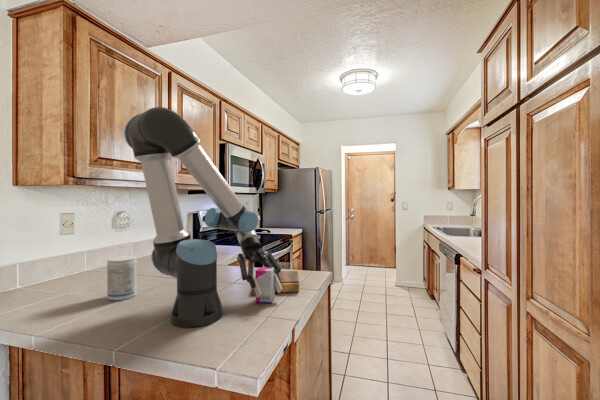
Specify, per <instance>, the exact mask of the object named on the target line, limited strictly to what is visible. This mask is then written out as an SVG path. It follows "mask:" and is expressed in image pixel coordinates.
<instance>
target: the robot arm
mask: <svg viewBox="0 0 600 400" xmlns="http://www.w3.org/2000/svg"><path fill="white" fill-rule="evenodd" d="M123 133H124V135H123V136H124V139H125V142H126V144H127V145H128V147H129V148H130V149H131V150H132V152H133V156H134V159H135V160H136V161H138V162H139V163H140V164H141V167H142V172H143V176H144V177H143V179H144V181H145V186H146V187H145V188H146V191H147V192H146V193H147V196H148V197H147V198H148V200H149V205H150V210H151V215H152V219H153V223H154V229H155V233H156V236H155V237H153V240H152V244H153V249H152V252H151V262H152V265H153V267H154V268H155V269H156V270H157V271H158V272H159V273H161V274H164V275H165V276H170V277H172V278H175V279H176V296H175V300H174V303H173V306H172V308H171V310H170V311H171V312H170V323H171V324H172V325H173V326H175V327H179V328H198V327H202V326H203V327H204V326H207V325H210V324H213V323H215V322H217V321H218V320H220V319H221V318H222V317H223V309H224V307H223V304H222V301H221V298H220V296H219V293H218V289H217V288H218V287H217V286H218V284H217V283H218V282H217V281H218V279H217V278H218V277H217V276H218V273H217V272H218V271H217V269H218V267H217V266H218V265H217V264H218V263H217V261H218V252H217V246H216V244H215V243H214V242H213V241H209V240H206V239H197V238H191V234H190V233H191V232H189V231H188V230H186V229H185V226H184V223H183V222H184V221H183V218H182V212H181V207H180V201H179V197H178V191H177V187H176V182H175V176H174V170H173V166H172V161H171V160H172V158H174V159H178V160H179V161H180V162H181V163H182V165H183V166H184V167H185V168H186V170H187V171H188V172H189V174H190V175H191V176H192V177H193V179H195V181H196V182H197V184H198V185H199V186H200V187H201V188H202V190H203V191H204V192H205V194H206V195H207V196H208V197H209V198H210V200H211V201H212V202H213V204H214V205H215V207H210V208H208V210H207V211H206V213H205V216H204V224H205V226H207V227H209V228H213V229H219V230H227V231H230V232H234V234H235V235H236V237H237V238H236V239H237V241H238V243H239V246H240V248H241V252H242V253H241V252H240V253H239V254H238V256H237V257H236V260H237V261H238V263H239V269H240V274H241V280H243V281H246V282H247V283H249V286H250V289H252V290H254V294H255V297H256V296H257V298H259V297H260V295H261V294H262V293H261V290H260V288H259V285H258V282H257V280H256V276H254V263H259V264H261V265H262V266H263V267H274V284H275V287H276V289H277V291H278V292H277V293H278V294H279V293H282V292H281V290H282V289H283V288H282V286H281V283H280V281H281V279H280V277H279V275H278V274H279V272H280V271H282V268H281V267H280V265H279V263H278V262H277V260H276V259H275V256H273V253H272V250H271V249H268V250H264V249H263V247H262V244H261V241H260V239H259V237H258V234H257V232H256V228H257V227H258V225H259V217H258V213H256V212H255V211H254V210H253V211H252V210H250V209H249V210H248V209H247V207H246V206H245V205H244V204H243V202H242V201H241V200H240V198H239V197H238V195H237V194H236V193H235V191H234V190H233V188H232V187H231V186H230V184H229V183H228V182H227V181H226V178H224V176H223V175H222V174H221V173H220V171H219V169H218V168H217V166H215V164H214V163H213V161H212V160H211V158H210V157H209V155H207V153H206V151H205V150H204V149H203V147H202V146H201V143H200V142H201V139H200V137H199V136H198V135H197V133H196V132H195V130H194V129H193V128H192V127H191V126H190V124H189V123H188V122H187V121H186V120H185V119H184V118H183V117H181V115H180V114H178V113H177V112H175V111H173V110H171V109H169V108H166V107H162V106H161V107H160V106H156V107H151V108H149V109H147V110H145V111H144V112H142V113H138V114H136V115H135V116H133V117H131V118H130V119H129V121H128V122H127V123H126V125H125V126H124V132H123ZM245 260H248V262H247V266H248V267H247V266H246V261H245ZM247 268H248V269H247Z"/></svg>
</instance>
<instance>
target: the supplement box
mask: <svg viewBox="0 0 600 400" xmlns="http://www.w3.org/2000/svg"><path fill="white" fill-rule="evenodd" d="M255 277H256V280H257V282H258V285H259V288H260V290H261V293H262V294H261V295H260V297H259V298H257V296H256V295H255V304H272V303H273V302H274V300H275V292H274V267H264V266H263V267H258V268H257V269H256V270H255Z"/></svg>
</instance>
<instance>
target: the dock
mask: <svg viewBox="0 0 600 400" xmlns="http://www.w3.org/2000/svg"><path fill="white" fill-rule="evenodd" d="M298 273H299V272H298V270H286V271H285V270H284V271H282V270H281V271H280V272H279V274H278V275H279V277H280V279H281V281H280V283H281V286H282V288H283V289H282V290H281V292H280V293H296V292H298V293H300V279H299V274H298ZM274 293H278V291H277V289H276V287H275V284H274Z"/></svg>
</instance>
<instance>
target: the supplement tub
mask: <svg viewBox="0 0 600 400" xmlns="http://www.w3.org/2000/svg"><path fill="white" fill-rule="evenodd" d="M106 269H107V270H106V272H107V274H106V275H107V276H106V277H107V279H106V281H107V299H109V300H110V301H123V300H125V301H126V300H128V299H131V298H133V297H134V298H135V296H136V295H137V294H138V260H137V256H136V255H118V256H114V257H110V258H107V263H106Z"/></svg>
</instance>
